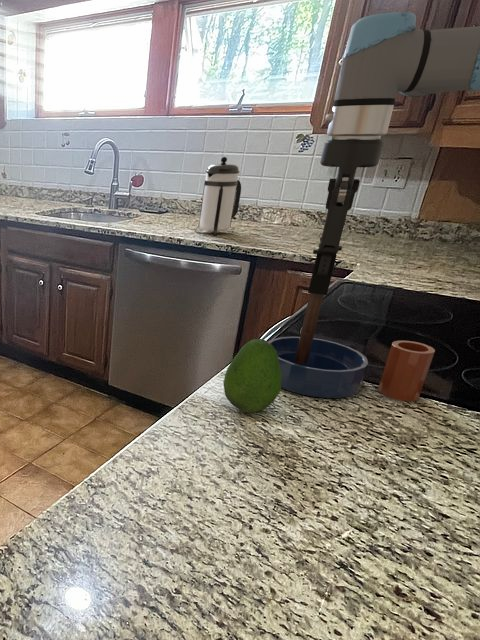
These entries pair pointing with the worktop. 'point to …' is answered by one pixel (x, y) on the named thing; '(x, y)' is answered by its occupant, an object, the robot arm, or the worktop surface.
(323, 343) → the bowl
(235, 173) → the coffee press
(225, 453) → the worktop surface
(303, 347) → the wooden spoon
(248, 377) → the avocado
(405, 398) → the crock
